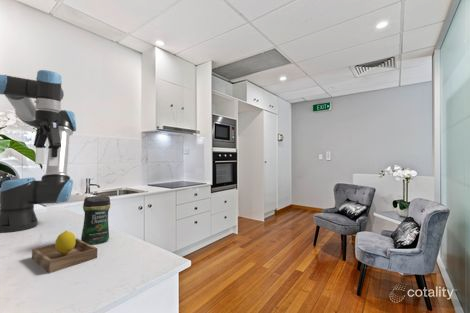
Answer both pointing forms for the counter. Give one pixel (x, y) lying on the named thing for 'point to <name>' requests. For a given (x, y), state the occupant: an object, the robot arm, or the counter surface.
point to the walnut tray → (63, 256)
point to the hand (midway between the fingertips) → (46, 164)
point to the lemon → (65, 242)
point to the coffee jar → (96, 220)
